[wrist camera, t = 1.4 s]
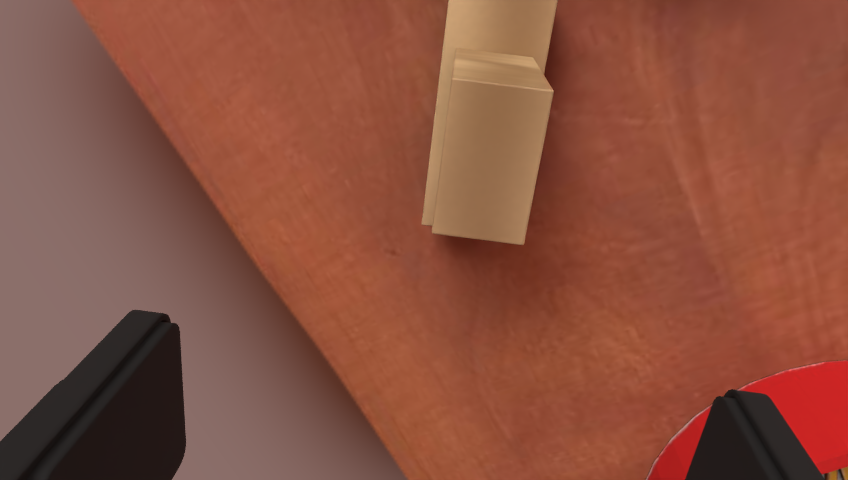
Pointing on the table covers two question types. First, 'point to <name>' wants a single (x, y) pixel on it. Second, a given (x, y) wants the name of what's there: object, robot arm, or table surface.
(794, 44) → the table surface
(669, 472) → the toy clock
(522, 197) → the brush
